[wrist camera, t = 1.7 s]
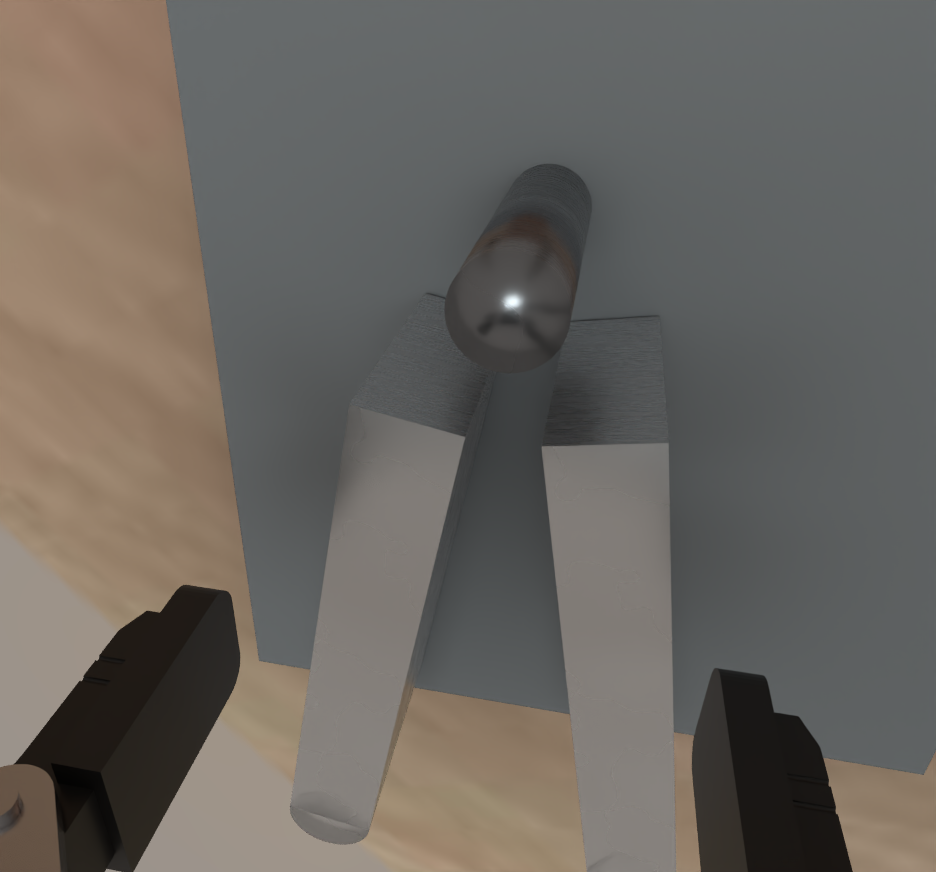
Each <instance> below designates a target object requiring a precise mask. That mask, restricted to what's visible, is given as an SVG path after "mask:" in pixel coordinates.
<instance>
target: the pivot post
mask: <svg viewBox="0 0 936 872" xmlns="http://www.w3.org/2000/svg"><path fill="white" fill-rule="evenodd" d="M591 213H592V201H591V196H590V193H589V190H588V188H587V186H586V184H585V183H584V181H583V180H582V179H581V178H580V177H579V175H577V174H576V173H575V172H574V171H572V170H571V169H569V168H567V167H564V166H561V165H558V164H541V165H537V166H534V167H532V168H529V169H528V170H526V171H524V172H523V173H522V174H521V175H520V176H519V177H518V178H517V179H516V180H515V181H514V183H513V184H512V186H511V187H510V189H509V190H508V192H507V194H506V195H505V197H504V199H503V200H502V202H501V203H500V205H499V207H498V208H497V210H496V211H495V213H494V215H493V216H492V218H491V220H490V221H489V223H488V224H487V226H486V228H485V229H484V231H483V232H482V234H481V236H480V237H479V239H478V241H477V242H476V244H475V245H474V247H473V249H472V250H471V252H470V253H469V255H468V257H467V258H466V260H465V261H464V263H463V265H462V266H461V268H460V270H459V271H458V273H457V274H456V276H455V278H454V279H453V281H452V283H451V285H450V286H449V289H448V292H447V295H446V299H445V307H444V313H445V321H446V326H447V329H448V332H449V334H450V336H451V338H452V340H453V342H454V343H455V345H456V346H457V347H458V349H459V350H460V351H461V352H462V353H463V354H464V355H465V356H466V357H467V358H468V359H470V360H471V361H472V362H474V363H476V364H477V365H479V366H481V367H483V368H486V369H488V370H492V371H495V372H501V373H520V372H525V371H529V370H532V369H535V368H537V367H539V366H541V365H543V364H544V363H546V362H547V361H549V360H550V359H551V358H552V357H553V356H554V355H555V354H556V353H557V352H558V351H559V349H560V348H561V347H562V345H563V343H564V341H565V339H566V337H567V334H568V331H569V327H570V322H571V317H572V312H573V307H574V301H575V296H576V291H577V286H578V281H579V276H580V270H581V265H582V260H583V255H584V250H585V244H586V239H587V234H588V229H589V224H590V218H591Z"/></svg>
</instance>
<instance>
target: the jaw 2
mask: <svg viewBox="0 0 936 872" xmlns="http://www.w3.org/2000/svg"><path fill="white" fill-rule="evenodd" d="M541 447H542V456H543V466H544V475H545V484H546V494H547V503H548V512H549V522H550V531H551V540H552V550H553V559H554V568H555V578H556V587H557V596H558V606H559V615H560V625H561V634H562V643H563V653H564V662H565V671H566V681H567V690H568V699H569V709H570V718H571V727H572V737H573V746H574V755H575V765H576V774H577V784H578V793H579V802H580V812H581V821H582V830H583V840H584V849H585V858H586V868H587V872H676V838H675V781H674V724H673V667H672V610H671V553H670V496H669V442H668V428H667V414H666V401H665V387H664V373H663V359H662V346H661V332H660V318H659V316H655V317H639V318H623V319H607V320H592V321H576V322H570V327H569V331H568V334H567V337H566V339H565V341H564V343H563V345H562V348H561V353H560V358H559V363H558V368H557V373H556V378H555V383H554V387H553V392H552V397H551V402H550V407H549V412H548V417H547V422H546V427H545V432H544V437H543V441H542V446H541Z"/></svg>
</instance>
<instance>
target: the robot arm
mask: <svg viewBox="0 0 936 872" xmlns="http://www.w3.org/2000/svg"><path fill="white" fill-rule="evenodd" d="M239 667H240V650H239V644H238V637H237V630H236V624H235V617H234V610H233V604H232V598H231V595H230V594H229V592H227V591H223V590H216V589H210V588H203V587H197V586H190V585H183V586H181V587H180V588H179V589H178V590H177V591H176V592H175V593H174V595H173V596H172V597H171V599H170V600H169V601H168V603H167V604H166V606H165V607H164V608H163V610H162V611H161V612H160V613H158V612H152V611H146V612H144V613H143V614H142V615H140V616H139V617H137V618H136V619H134V620H133V621H132V622H130V623H129V624H127V625H126V626H124V627H123V628H122V629H120V630H119V631H118V632H117V633H116V635H115V636H114V638H113V639H112V640H111V641H110V643H109V644H108V645H107V646H106V648H105V649H104V650H103V651H102V653H101V654H100V655H99V660H98V661H96V660H95V662H94V663H93V664H92V666H91V667H90V668H89V669H88V671H87V672H86V673H85V675H84V678H83V680H82V681H79V682H78V684H77V685H76V686H75V688H74V689H73V690H72V691H71V693H70V694H69V695H68V697H67V698H66V699H65V700H64V702H63V703H62V704H61V706H60V707H59V708H58V709H57V711H56V712H55V713H54V715H53V716H52V717H51V718H50V720H49V721H48V722H47V724H46V725H45V726H44V727H43V729H42V730H41V731H40V733H39V734H38V735H37V736H36V738H35V739H34V740H33V742H32V743H31V744H30V745H29V747H28V748H27V749H26V751H25V752H24V753H23V754H22V756H21V757H20V758H19V759H18V760H17V762H16V763H15V764H13V765H8V766H4V767H0V872H105V870H106V869H112V870H116V871H121V872H133V871H134V870H135V868H136V866H137V864H138V862H139V861H140V859H141V857H142V855H143V853H144V851H145V849H146V848H147V846H148V844H149V842H150V841H151V839H152V837H153V835H154V833H155V831H156V829H157V828H158V826H159V824H160V822H161V821H162V819H163V817H164V815H165V813H166V811H167V810H168V808H169V806H170V804H171V802H172V800H173V798H174V797H175V795H176V793H177V791H178V789H179V788H180V786H181V784H182V782H183V780H184V779H185V777H186V775H187V773H188V771H189V769H190V768H191V766H192V764H193V762H194V760H195V758H196V757H197V755H198V753H199V751H200V749H201V748H202V746H203V744H204V742H205V740H206V739H207V737H208V735H209V733H210V731H211V729H212V728H213V726H214V724H215V722H216V720H217V719H218V717H219V715H220V713H221V711H222V709H223V708H224V706H225V704H226V702H227V700H228V699H229V697H230V695H231V693H232V691H233V689H234V686H235V684H236V681H237V677H238V673H239ZM692 775H693V786H694V797H695V809H696V820H697V831H698V843H699V854H700V865H701V872H853V871H852V867H851V864H850V860H849V856H848V852H847V848H846V844H845V840H844V837H843V833H842V829H841V825H840V821H839V817H838V814H836V811H835V810H836V806H835V802H834V798H833V794H832V790H831V787H829V785H828V782H829V779H828V775H827V771H826V767H825V763H824V759H823V755H822V752H821V748H820V746H819V744H818V743H817V742H816V740H815V739H814V737H813V736H812V734H811V733H810V732H809V730H808V729H807V727H806V726H805V725H804V723H803V722H802V720H801V719H800V717H799V716H795V715H788V714H782V713H776V712H774V710H773V705H772V700H771V695H770V690H769V686H768V682H767V679H766V677H765V676H764V675H759V674H752V673H746V672H739V671H733V670H726V669H720V668H715V669H714V670H713V672H712V674H711V677H710V681H709V684H708V688H707V691H706V695H705V698H704V702H703V705H702V709H701V712H700V716H699V719H698V723H697V726H696V730H695V735H694V741H693V751H692Z"/></svg>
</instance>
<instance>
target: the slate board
mask: <svg viewBox="0 0 936 872" xmlns="http://www.w3.org/2000/svg"><path fill="white" fill-rule="evenodd" d="M166 4H167V11H168V18H169V25H170V33H171V40H172V47H173V54H174V61H175V68H176V75H177V82H178V89H179V96H180V103H181V110H182V117H183V125H184V132H185V139H186V146H187V153H188V160H189V167H190V174H191V181H192V188H193V195H194V202H195V210H196V217H197V224H198V231H199V238H200V245H201V252H202V259H203V266H204V273H205V280H206V287H207V294H208V302H209V309H210V316H211V323H212V330H213V337H214V344H215V351H216V358H217V365H218V372H219V379H220V386H221V394H222V401H223V408H224V415H225V422H226V429H227V436H228V443H229V450H230V457H231V464H232V471H233V478H234V486H235V493H236V500H237V507H238V514H239V521H240V528H241V535H242V542H243V549H244V556H245V563H246V571H247V578H248V585H249V592H250V599H251V606H252V613H253V620H254V627H255V634H256V641H257V648H258V655H259V661H263V662H269V663H275V664H281V665H287V666H293V667H298V668H304V669H310V668H311V662H312V655H313V648H314V641H315V634H316V627H317V621H318V614H319V607H320V600H321V593H322V587H323V580H324V573H325V566H326V559H327V553H328V546H329V539H330V532H331V525H332V519H333V512H334V505H335V498H336V491H337V484H338V478H339V471H340V464H341V457H342V450H343V444H344V437H345V430H346V423H347V416H348V410H349V404H350V403H351V401H352V400H353V398H354V397H355V395H356V394H357V392H358V391H359V390H360V388H361V387H362V385H363V384H364V382H365V381H366V379H367V378H368V376H369V375H370V373H371V372H372V371H373V369H374V368H375V366H376V365H377V363H378V362H379V360H380V359H381V357H382V356H383V354H384V353H385V351H386V350H387V349H388V347H389V346H390V344H391V343H392V341H393V340H394V338H395V337H396V335H397V334H398V332H399V331H400V330H401V328H402V327H403V325H404V324H405V322H406V321H407V319H408V318H409V316H410V315H411V313H412V312H413V311H414V309H415V308H416V306H417V305H418V303H419V302H420V300H421V299H422V297H423V296H424V294H425V293H426V294H430V295H434V296H437V297H441V298H445V299H446V295H447V292H448V289H449V286H450V285H451V283H452V281H453V279H454V278H455V276H456V274H457V273H458V271H459V270H460V268H461V266H462V265H463V263H464V261H465V260H466V258H467V257H468V255H469V253H470V252H471V250H472V249H473V247H474V245H475V244H476V242H477V241H478V239H479V237H480V236H481V234H482V232H483V231H484V229H485V228H486V226H487V224H488V223H489V221H490V220H491V218H492V216H493V215H494V213H495V211H496V210H497V208H498V207H499V205H500V203H501V202H502V200H503V199H504V197H505V195H506V194H507V192H508V190H509V189H510V187H511V186H512V184H513V183H514V181H515V180H516V179H517V178H518V177H519V176H520V175H521V174H522V173H523V172H524V171H526V170H528V169H529V168H532V167H534V166H537V165H541V164H558V165H561V166H564V167H567V168H569V169H571V170H572V171H574V172H575V173H576V174H577V175H579V177H580V178H581V179H582V180H583V181H584V183H585V184H586V186H587V188H588V190H589V193H590V196H591V201H592V213H591V218H590V224H589V229H588V234H587V239H586V244H585V250H584V255H583V260H582V265H581V270H580V276H579V281H578V286H577V291H576V296H575V301H574V307H573V312H572V317H571V322H576V321H592V320H607V319H623V318H639V317H655V316H659V318H660V332H661V346H662V359H663V373H664V387H665V401H666V414H667V428H668V442H669V496H670V553H671V610H672V667H673V724H674V732H677V733H683V734H689V735H695V730H696V726H697V723H698V719H699V716H700V712H701V709H702V705H703V702H704V698H705V695H706V691H707V688H708V684H709V681H710V677H711V674H712V672H713V670H714V669H715V668H720V669H726V670H733V671H739V672H746V673H752V674H759V675H764V676H765V677H766V679H767V682H768V686H769V690H770V695H771V700H772V705H773V710H774V712H776V713H782V714H788V715H795V716H799V717H800V719H801V720H802V722H803V723H804V725H805V726H806V727H807V729H808V730H809V732H810V733H811V734H812V736H813V737H814V739H815V740H816V742H817V743H818V744H819V746H820V748H821V752H822V755H823V758H829V759H835V760H840V761H846V762H852V763H858V764H864V765H870V766H875V767H881V768H887V769H893V770H899V771H904V772H910V773H916V774H922V775H924V773H925V771H926V769H927V767H928V765H929V763H930V761H931V759H932V757H933V755H934V753H935V751H936V0H166ZM561 348H562V347H561ZM561 348H560V349H559V351H558V352H557V353H556V354H555V355H554V356H553V357H552V358H551V359H550V360H549V361H547V362H546V363H544V364H543V365H541V366H539V367H537V368H535V369H532V370H529V371H525V372H520V373H501V372H496V375H495V379H494V383H493V387H492V391H491V395H490V399H489V403H488V407H487V411H486V414H485V418H484V422H483V426H482V430H481V434H480V438H479V442H478V446H477V450H476V453H475V457H474V461H473V465H472V469H471V473H470V477H469V481H468V485H467V489H466V492H465V496H464V500H463V504H462V508H461V512H460V516H459V520H458V524H457V528H456V531H455V535H454V539H453V543H452V547H451V551H450V555H449V559H448V563H447V567H446V570H445V574H444V578H443V582H442V586H441V590H440V594H439V598H438V602H437V606H436V609H435V613H434V617H433V621H432V625H431V629H430V633H429V637H428V641H427V645H426V648H425V652H424V656H423V660H422V664H421V667H420V670H419V673H418V676H417V680H416V683H415V686H414V687H415V688H421V689H427V690H432V691H438V692H444V693H450V694H456V695H462V696H467V697H473V698H479V699H485V700H491V701H497V702H502V703H508V704H514V705H520V706H526V707H531V708H537V709H543V710H549V711H555V712H561V713H566V714H570V709H569V699H568V690H567V681H566V671H565V662H564V653H563V643H562V634H561V625H560V615H559V606H558V596H557V587H556V578H555V568H554V559H553V550H552V540H551V531H550V522H549V512H548V503H547V494H546V484H545V475H544V466H543V456H542V447H541V446H542V441H543V437H544V432H545V427H546V422H547V417H548V412H549V407H550V402H551V397H552V392H553V387H554V383H555V378H556V373H557V368H558V363H559V358H560V353H561Z"/></svg>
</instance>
